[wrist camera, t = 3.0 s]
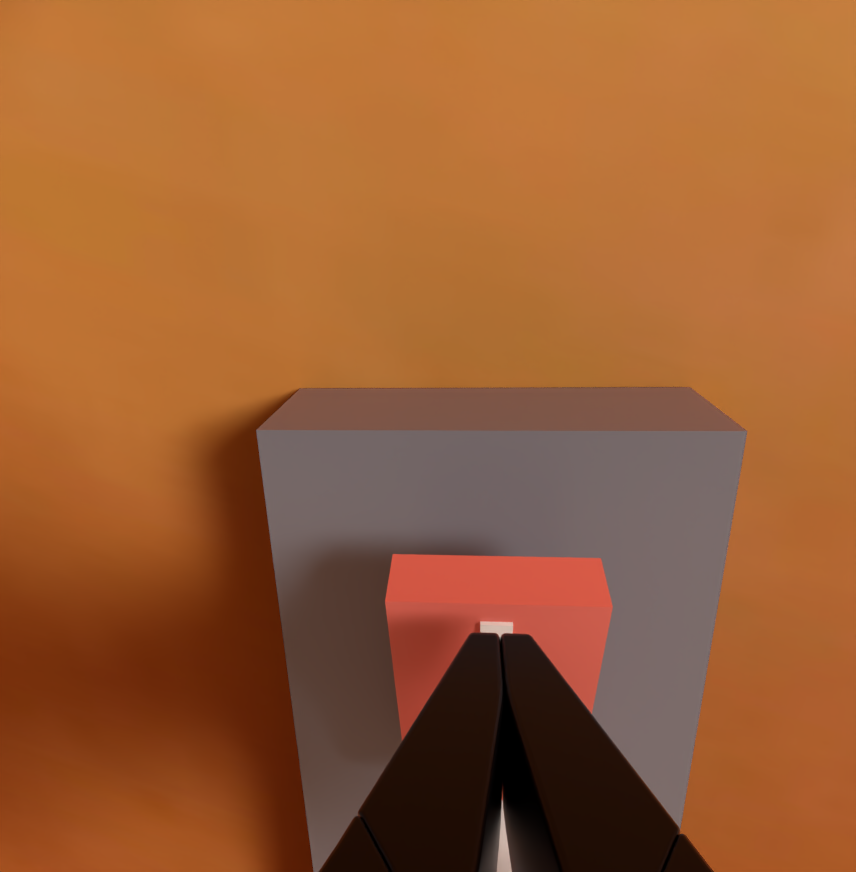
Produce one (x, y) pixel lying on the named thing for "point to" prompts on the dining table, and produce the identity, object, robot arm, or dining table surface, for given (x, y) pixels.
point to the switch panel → (494, 553)
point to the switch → (493, 616)
